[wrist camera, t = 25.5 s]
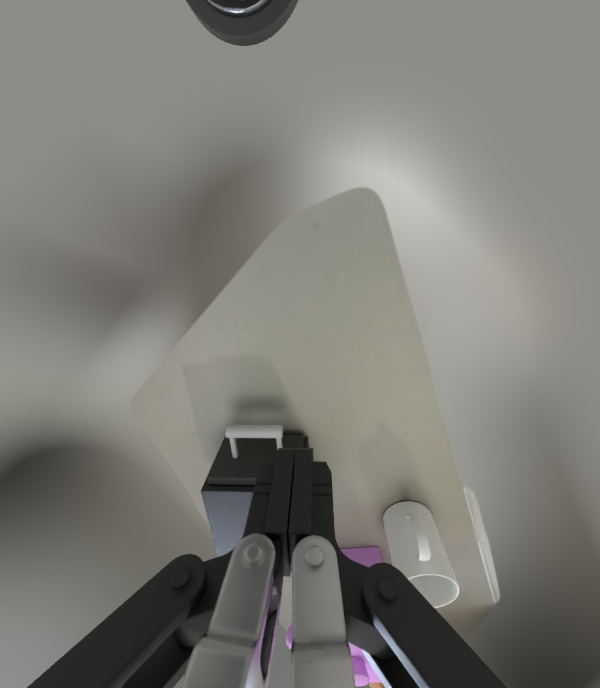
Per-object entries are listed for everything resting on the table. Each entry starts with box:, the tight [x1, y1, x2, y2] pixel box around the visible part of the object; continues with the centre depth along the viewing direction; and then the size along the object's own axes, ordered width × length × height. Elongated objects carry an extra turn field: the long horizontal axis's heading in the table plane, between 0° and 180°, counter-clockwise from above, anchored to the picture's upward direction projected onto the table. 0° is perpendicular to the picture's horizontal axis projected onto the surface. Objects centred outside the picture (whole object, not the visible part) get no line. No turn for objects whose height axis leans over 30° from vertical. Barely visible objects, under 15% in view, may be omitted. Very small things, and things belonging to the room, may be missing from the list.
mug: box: [383, 501, 460, 608], centre depth 42 cm, size 12×8×10 cm, turn 11°
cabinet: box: [201, 437, 309, 573], centre depth 41 cm, size 16×13×10 cm
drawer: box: [207, 425, 304, 486], centre depth 40 cm, size 20×11×8 cm, turn 3°
